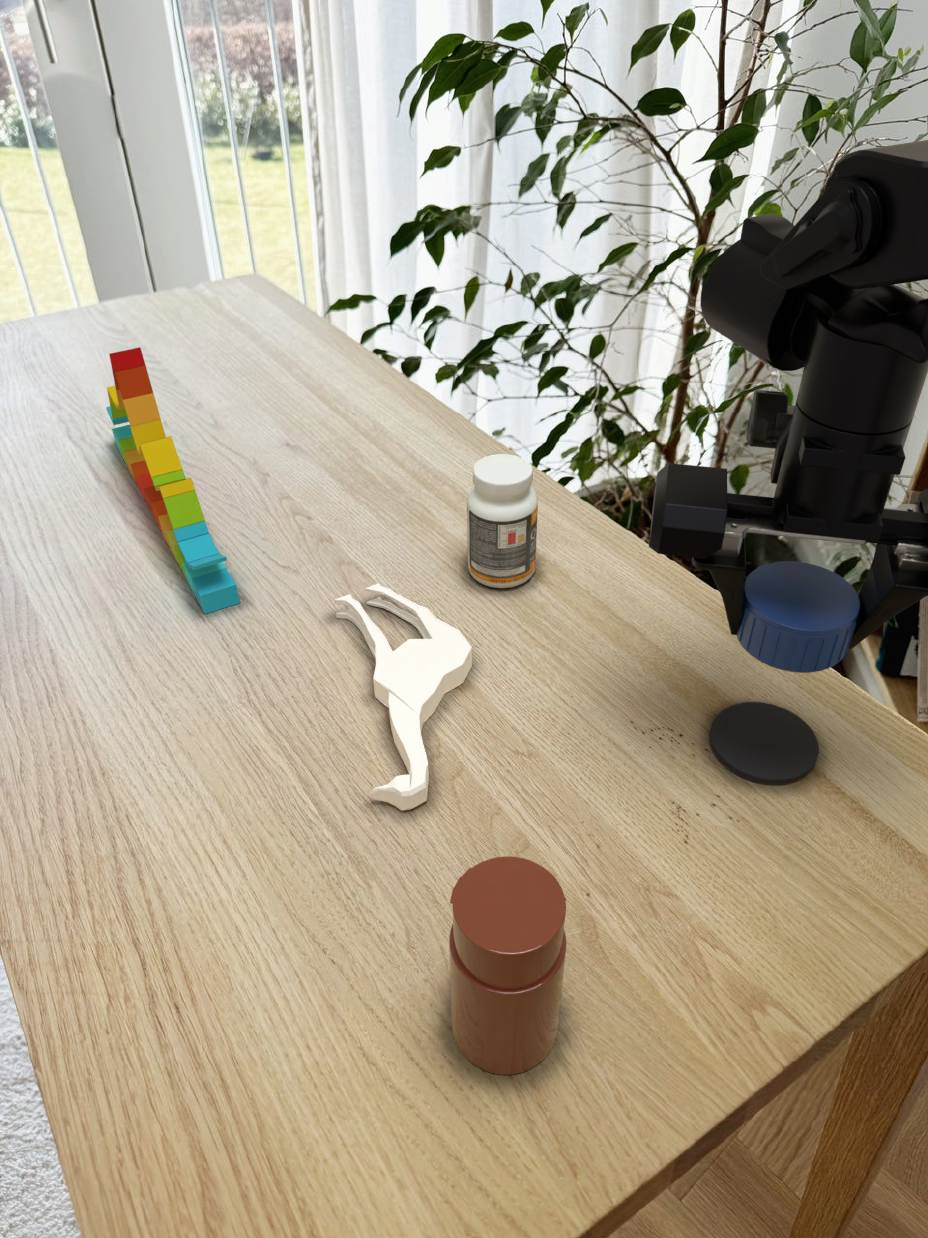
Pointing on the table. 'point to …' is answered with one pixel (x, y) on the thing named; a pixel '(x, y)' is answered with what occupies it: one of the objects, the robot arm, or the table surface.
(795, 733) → the coaster
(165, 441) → the chart
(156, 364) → the table surface
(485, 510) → the pill bottle
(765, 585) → the lid
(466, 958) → the jar
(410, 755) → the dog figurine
